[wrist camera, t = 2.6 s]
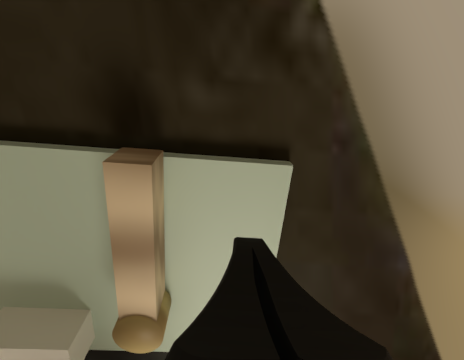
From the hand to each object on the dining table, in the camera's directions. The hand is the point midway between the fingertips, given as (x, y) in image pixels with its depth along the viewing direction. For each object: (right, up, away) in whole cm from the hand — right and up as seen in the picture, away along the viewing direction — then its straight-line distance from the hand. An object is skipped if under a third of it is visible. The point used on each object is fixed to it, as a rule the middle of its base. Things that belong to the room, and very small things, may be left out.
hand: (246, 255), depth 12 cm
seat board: (-9, -3, +9) cm, 13 cm away
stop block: (-16, -9, +10) cm, 21 cm away
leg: (-7, -1, +7) cm, 10 cm away
